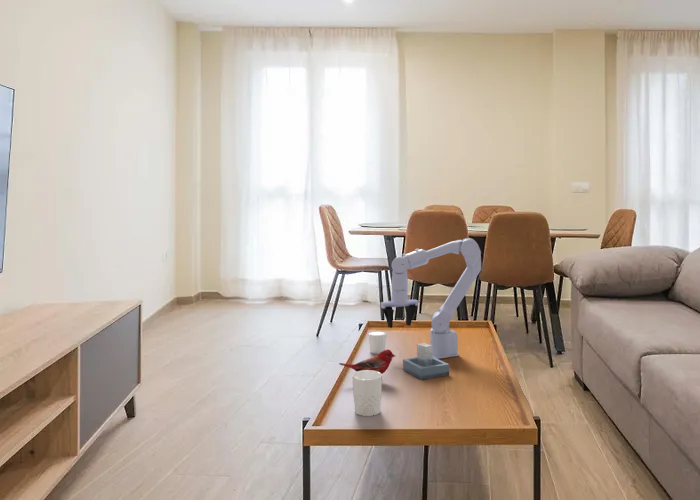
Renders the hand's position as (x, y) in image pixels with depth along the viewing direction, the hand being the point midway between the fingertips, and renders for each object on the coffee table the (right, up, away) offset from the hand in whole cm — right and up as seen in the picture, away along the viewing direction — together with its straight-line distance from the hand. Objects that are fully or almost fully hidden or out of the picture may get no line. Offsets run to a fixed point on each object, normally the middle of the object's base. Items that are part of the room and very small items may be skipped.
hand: (399, 326), depth 188 cm
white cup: (-13, -15, -52) cm, 56 cm away
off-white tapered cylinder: (-8, -10, +5) cm, 14 cm away
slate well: (+7, -12, -21) cm, 25 cm away
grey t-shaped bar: (+6, -11, -20) cm, 24 cm away
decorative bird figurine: (-13, -13, -29) cm, 34 cm away
